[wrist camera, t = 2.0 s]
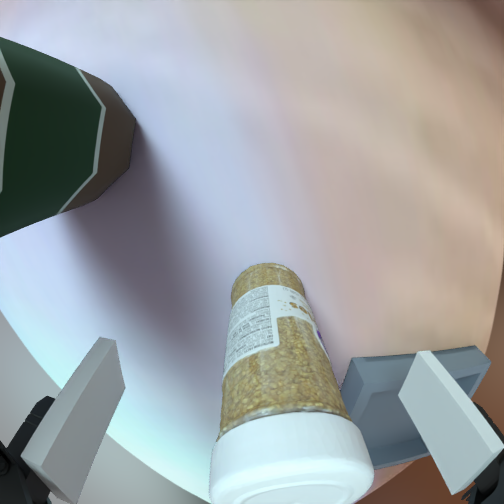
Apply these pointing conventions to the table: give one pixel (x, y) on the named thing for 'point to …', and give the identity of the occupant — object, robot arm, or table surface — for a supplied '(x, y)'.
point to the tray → (391, 407)
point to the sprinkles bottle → (282, 404)
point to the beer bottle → (55, 136)
